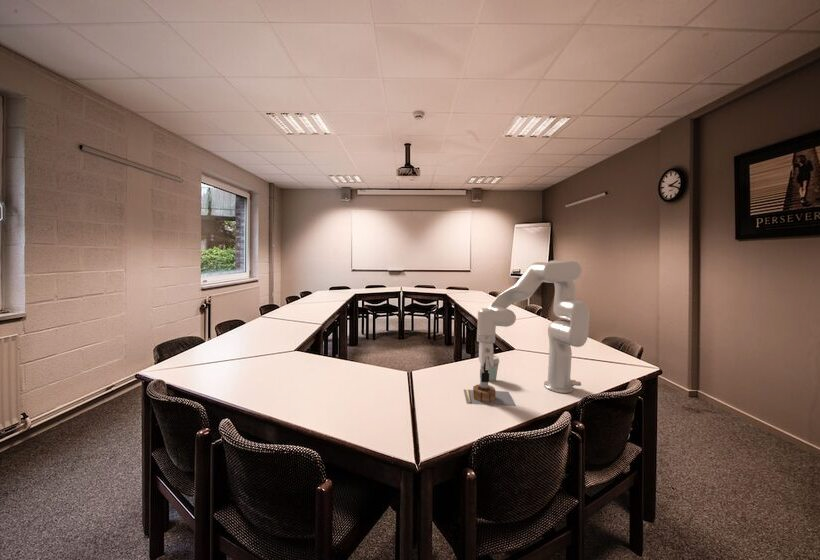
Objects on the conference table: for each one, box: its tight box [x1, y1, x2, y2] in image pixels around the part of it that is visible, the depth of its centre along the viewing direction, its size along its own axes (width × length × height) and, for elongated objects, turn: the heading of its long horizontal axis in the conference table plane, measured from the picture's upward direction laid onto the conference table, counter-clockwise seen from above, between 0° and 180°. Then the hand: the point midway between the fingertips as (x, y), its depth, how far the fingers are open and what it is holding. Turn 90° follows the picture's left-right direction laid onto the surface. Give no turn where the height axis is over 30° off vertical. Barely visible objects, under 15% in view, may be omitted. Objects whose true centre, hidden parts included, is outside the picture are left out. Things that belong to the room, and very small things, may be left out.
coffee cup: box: [488, 354, 500, 383], centre depth 158 cm, size 8×8×12 cm
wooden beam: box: [479, 364, 489, 388], centre depth 137 cm, size 3×3×11 cm
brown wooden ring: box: [472, 383, 497, 403], centre depth 137 cm, size 9×9×4 cm
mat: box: [463, 388, 517, 407], centre depth 138 cm, size 20×14×1 cm
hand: (484, 379), depth 137 cm, fingers closed on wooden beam, 3 cm apart
